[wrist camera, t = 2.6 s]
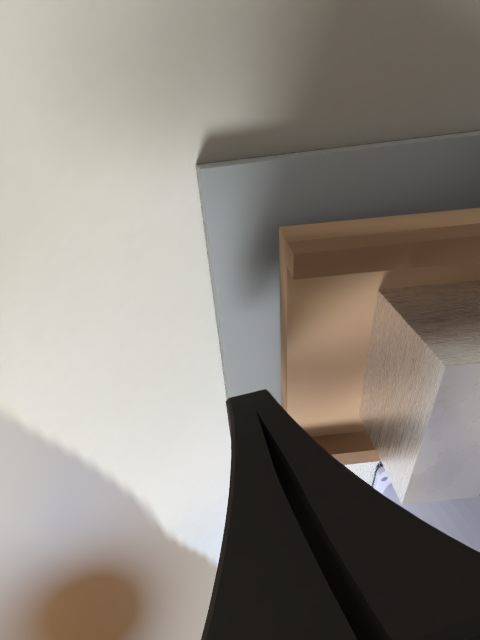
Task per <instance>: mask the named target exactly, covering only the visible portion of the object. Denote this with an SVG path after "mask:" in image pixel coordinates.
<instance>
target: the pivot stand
mask: <svg viewBox="0 0 480 640" xmlns="http://www.w3.org/2000/svg"><path fill="white" fill-rule="evenodd" d="M196 170H197V178H198V185H199V193H200V200H201V208H202V215H203V223H204V230H205V238H206V246H207V253H208V261H209V268H210V276H211V283H212V291H213V298H214V306H215V314H216V321H217V329H218V336H219V344H220V351H221V359H222V366H223V374H224V382H225V389H226V397H227V400H228V398H231V397H235V396H239V395H243V394H247V393H251V392H255V391H259V390H264V389H266V390H268V391H269V392H270V393H271V395H272V396H273V397H274V398H275V399H276V401H277V402H278V403H279V404H280V405H281V337H280V267H279V227H282V226H293V225H303V224H314V223H324V222H335V221H345V220H356V219H366V218H376V217H387V216H397V215H408V214H418V213H429V212H439V211H450V210H460V209H471V208H480V131H473V132H465V133H457V134H448V135H440V136H432V137H423V138H415V139H407V140H398V141H390V142H382V143H373V144H365V145H357V146H348V147H340V148H332V149H323V150H315V151H307V152H298V153H290V154H282V155H273V156H265V157H257V158H248V159H240V160H232V161H223V162H215V163H207V164H198V165H196Z"/></svg>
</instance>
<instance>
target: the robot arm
mask: <svg viewBox="0 0 480 640" xmlns="http://www.w3.org/2000/svg"><path fill="white" fill-rule="evenodd" d="M226 406H227V413H228V420H229V428H230V435H231V474H230V488H229V498H228V507H227V515H226V522H225V528H224V535H223V541H222V547H221V553H220V558H219V563H218V568H217V573H216V578H215V583H214V587H213V592H212V597H211V602H210V606H209V610H208V615H207V619H206V623H205V626H204V630H203V634H202V639H201V640H480V496H479V497H470V498H461V499H452V500H443V501H434V502H425V503H416V504H407V505H401V502H400V500H399V498H398V496H397V494H396V492H395V490H394V488H393V485H392V483H391V481H390V479H389V477H388V475H387V473H386V471H385V469H384V466H383V467H381V468H379V469H378V470H377V473H376V477H375V482H374V486H373V487H372V486H370V485H369V484H367V483H366V482H365V481H363V480H362V479H361V478H359V477H358V476H357V475H355V474H354V473H353V472H352V471H350V470H349V469H348V468H346V467H345V466H344V465H343V464H342V463H340V462H339V461H338V460H337V459H335V458H334V457H333V456H332V455H331V454H330V453H329V452H327V451H326V450H325V449H324V448H323V447H322V446H321V445H320V444H318V443H317V442H316V441H315V440H314V439H313V438H312V437H311V436H310V435H309V434H308V433H307V432H306V431H305V430H304V429H303V428H302V427H301V426H300V425H299V424H298V423H297V422H296V421H295V420H294V419H293V418H292V417H291V416H290V415H289V414H288V413H287V412H286V411H285V410H284V409H283V407H282V406H281V405H280V404H279V403H278V402H277V401H276V399H275V398H274V397H273V396H272V395H271V393H270V392H269V391H268V390H266V389H264V390H259V391H255V392H251V393H247V394H243V395H239V396H235V397H231V398H228V400H227V401H226Z"/></svg>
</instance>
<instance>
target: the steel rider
mask: <svg viewBox="0 0 480 640" xmlns="http://www.w3.org/2000/svg"><path fill="white" fill-rule="evenodd" d="M359 416H360V418H361V420H362V422H363V424H364V426H365V428H366V430H367V433H368V435H369V437H370V439H371V441H372V443H373V445H374V447H375V449H376V452H377V454H378V456H379V458H380V460H381V462H382V464H383V466H384V469H385V471H386V473H387V475H388V477H389V479H390V481H391V483H392V485H393V488H394V490H395V492H396V494H397V496H398V498H399V500H400V502H401V505H407V504H416V503H425V502H434V501H443V500H452V499H461V498H470V497H479V496H480V280H474V281H464V282H454V283H444V284H434V285H424V286H414V287H404V288H394V289H384V290H378V294H377V300H376V307H375V313H374V319H373V326H372V332H371V338H370V345H369V351H368V357H367V364H366V370H365V376H364V383H363V389H362V395H361V402H360V408H359Z"/></svg>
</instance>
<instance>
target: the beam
mask: <svg viewBox="0 0 480 640" xmlns="http://www.w3.org/2000/svg"><path fill="white" fill-rule="evenodd" d="M279 267H280V337H281V406H282V407H283V409H284V410H285V411H286V412H287V413H288V414H289V415H290V416H291V417H292V418H293V419H294V420H295V421H296V422H297V423H298V424H299V425H300V426H301V427H302V428H303V429H304V430H305V431H306V432H307V433H308V434H309V435H310V436H311V437H312V438H313V439H314V440H315V441H316V442H317V443H318V444H320V445H321V446H322V447H323V448H324V449H325V450H326V451H327V452H329V453H330V454H331V455H332V456H333V457H334V458H335V459H337V460H338V461H339V462H340V463H342V464H343V465H347V464H356V463H365V462H374V461H381V460H380V458H379V456H378V454H377V452H376V449H375V447H374V445H373V443H372V441H371V439H370V437H369V435H368V433H367V430H366V428H365V426H364V424H363V422H362V420H361V418H360V416H359V408H360V402H361V395H362V389H363V383H364V376H365V370H366V364H367V357H368V351H369V345H370V338H371V332H372V326H373V319H374V313H375V307H376V300H377V294H378V290H384V289H394V288H404V287H414V286H424V285H434V284H444V283H454V282H464V281H474V280H480V208H471V209H460V210H450V211H439V212H429V213H418V214H408V215H397V216H387V217H376V218H366V219H356V220H345V221H335V222H324V223H314V224H303V225H293V226H282V227H279Z"/></svg>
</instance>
